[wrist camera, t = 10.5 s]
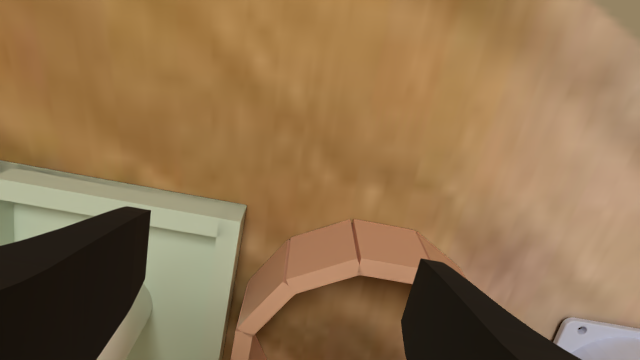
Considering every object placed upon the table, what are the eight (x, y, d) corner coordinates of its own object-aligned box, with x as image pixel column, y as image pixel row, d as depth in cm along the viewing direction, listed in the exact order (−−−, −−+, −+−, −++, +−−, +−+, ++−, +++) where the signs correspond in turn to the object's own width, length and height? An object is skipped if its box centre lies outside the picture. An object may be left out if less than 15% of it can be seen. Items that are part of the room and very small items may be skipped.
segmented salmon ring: (501, 245, 23) (537, 289, 20) (433, 426, 27) (452, 491, 24) (261, 202, 22) (251, 239, 19) (228, 396, 27) (213, 458, 23)
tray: (247, 205, 22) (240, 222, 21) (214, 403, 27) (207, 432, 25) (-2, 160, 22) (-32, 173, 20) (6, 372, 26) (-18, 400, 24)
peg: (155, 275, 23) (91, 377, 16) (149, 338, 24) (87, 456, 18) (75, 261, 23) (-22, 360, 16) (73, 326, 24) (-18, 441, 17)
